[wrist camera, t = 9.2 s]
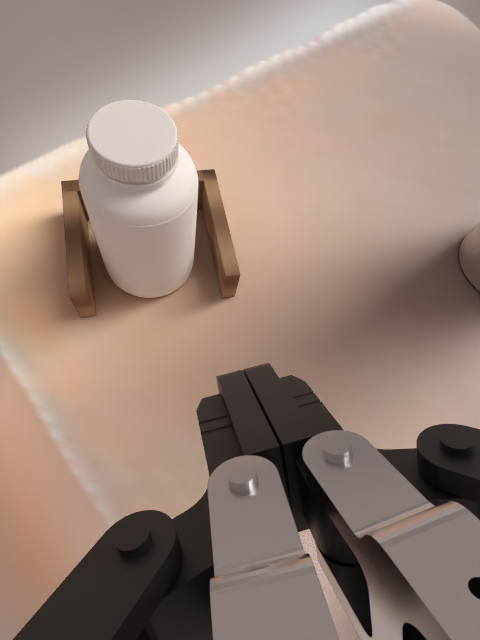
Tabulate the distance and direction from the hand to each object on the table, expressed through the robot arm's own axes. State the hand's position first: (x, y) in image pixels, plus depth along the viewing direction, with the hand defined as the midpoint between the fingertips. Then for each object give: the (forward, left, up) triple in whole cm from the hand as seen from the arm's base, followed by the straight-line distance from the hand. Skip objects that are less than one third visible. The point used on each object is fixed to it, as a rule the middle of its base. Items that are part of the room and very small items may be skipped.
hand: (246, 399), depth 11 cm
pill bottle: (-10, -15, -22) cm, 29 cm away
